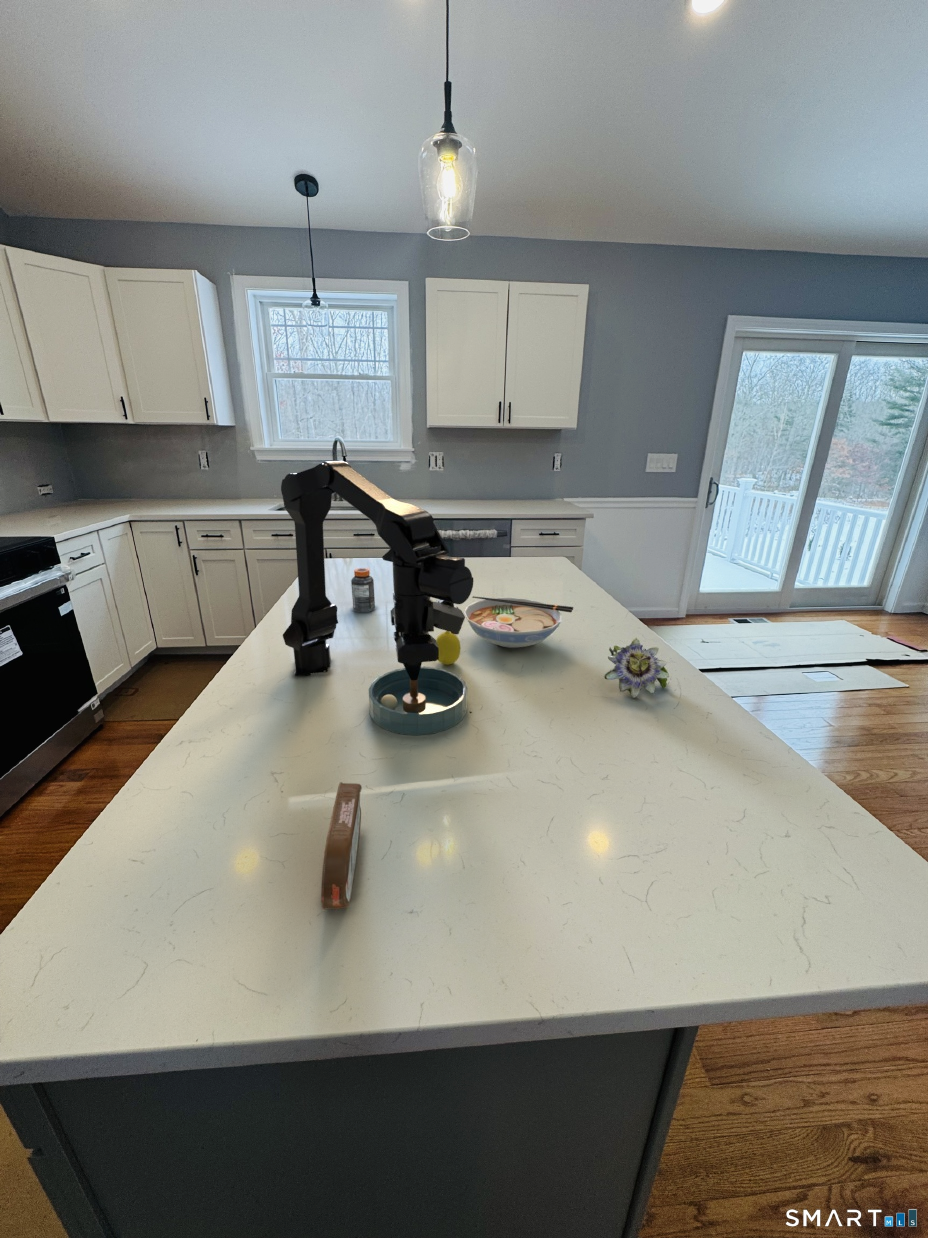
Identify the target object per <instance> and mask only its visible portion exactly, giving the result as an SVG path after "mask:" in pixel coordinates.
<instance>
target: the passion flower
mask: <svg viewBox="0 0 928 1238" xmlns="http://www.w3.org/2000/svg"><path fill="white" fill-rule="evenodd" d="M643 647H644V645H643V644H641V642H640V639H639V638H637V637H634V638H633V639H632V640H631V643H630V644H629V645H626V646H625V647H621V646H619V645H613V649H612V647H609V649H608V651H609V652H610V655H609V656H607V659H608V660H609V661H611V663H612V664H614V667H613V669H611V670H609V671H607V672H606V673H605V674H604V676H603V677H604V679H605V680H611V681H613V680H615V679H618V689H619V692H625V691H628V693H629V696H630V697H631V699H632V698H636V697H638V696H639V694H640V691H641V689H643V688H644V689H645V690H646V691H647V692H648V693H649V694H654V693H655V690H656V686H655V685H656V684H655V683H658V684H659V685H660V687H661V689H662V690H664V689H666V687H667V685H668V678H669V677H670V674H669V672H668V669H666V668H665V666H666V665H667V662H666V661H665V660H662V659H659V657H656V656H657V654H658V653H659V650H660V649H659V647H658V646H654V647H650V648H648V649H647V648H643Z"/></svg>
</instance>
